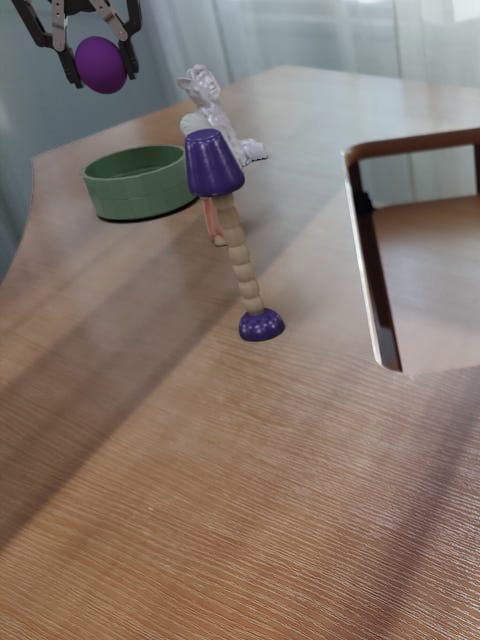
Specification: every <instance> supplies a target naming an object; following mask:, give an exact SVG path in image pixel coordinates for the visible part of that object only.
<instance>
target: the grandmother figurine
mask: <svg viewBox="0 0 480 640" xmlns="http://www.w3.org/2000/svg"><path fill="white" fill-rule="evenodd" d="M201 129H214V128H213V127H212V126H211V124H210V123H209V121H208V120H207V119H206V118H204V117H202V116H201V115H199V114H196V113H194V112H191V113H187V114H185V115H183V116H182V118H181V119H180V122H179V130H180V133H182V135H183V137H184V139H185V138H186V136H187V135H188V134H190V133H192V132H194V131H197V130H201ZM199 198H200V200H201V201H202V208H203V215H204V221H205V226H206V232H207V235H208V236H209V237H212V236H214V239H213V240H214V241H213V242H214V246H217V247H222V246H228V245H227V243H226V242H225V240H224V237H223V227H222V226H221V225H220V223H219V221H218V218H217V208H216V207H215V206H214V204H213V202H212V199H211V197H210V198H205V197H199Z"/></svg>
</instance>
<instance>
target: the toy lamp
mask: <svg viewBox="0 0 480 640" xmlns="http://www.w3.org/2000/svg"><path fill="white" fill-rule="evenodd" d="M184 148H185V157H186V169H187V180H188V187H189V190H190V192H191V193H192V194H193V195H194V196H196V197H198V198H200V197H205V198H210V197H211V199H212V202H213V204H214V206H215V207H216V208H217V218H218V221H219V223H220V225H221V226H222V227H223V237H224V240H225V242H226V243H227V245H226V246H227V253H228V257H229V259H230V261H231V263H233V265H232V269H233V274H234V276H235V278H236V280H238V289H239V292H240V294H241V296H242V297H243V306H244V308H245V310H246V311H245V313H244V314H243V315H242V316H241V317H240V320H239V323H238V334H239V337H240V338H241V339H243V340H246V341H249V342H251V341H252V342H260V341H266V340H269V339H272V338H274V337H277V336H278V335H280V334H282V332H283V331H284V329H285V325H286V324H285V322H284V320H283V319H282V316H281V315H280V314H279V313H278V312H277V311H276V310H274V309H272V308H270V307H265V301H264V298H263V297H262V295H261V294H260V285H259V282H258V280H257V278H256V270H255V267H254V264H253V263H252V261H251V253H250V248H249V246H248V244H247V243H246V242H245V237H246V236H245V232H244V229H243V227H242V226H241V224H240V214H239V212H238V210H237V208H236V206H234V204H235V203H234V201H235V200H234V192H237V191H239V190H240V189H242V188H243V186H244V185H245V184H246V177H245V174H244V172H243V169H242V170H241V168H240V166H239V164H238V162H237V160H236V158H235V157H234V155H233V153H232V151H231V149H230V147H229V146H228V144H227V142H226V140H225V138H224V136H223V135H222V133H221V132H220V131H219V130H217V129H201V130H197V131H194V132H192V133H190V134H188V135H187V136H186V138H185V137H184Z"/></svg>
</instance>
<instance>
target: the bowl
mask: <svg viewBox="0 0 480 640" xmlns="http://www.w3.org/2000/svg"><path fill="white" fill-rule="evenodd" d="M79 176H80V179H81V181H82V183H83V186H84V188H85V191H86V193H87V196H88V199H89V201H90V204H91V207H92V209H93V212H94V213H95V214H96V215H97V216H98V217H100V218H103V219H106V220H119V221H136V220H137V221H138V220H144V219H148V218H154V217H158V216H162V215H166V214H168V213H171V212H173V211H176V210H178V209H180V208H182V207H184V206H186V205H187V204H189V203H190V202H192V201H194V200H195V199H196V198H197V196H194V195H193V194H192V193H191V192H190V190H189V187H188V180H187V169H186V157H185V146H182V145H179V144H169V143H168V144H167V143H165V144H164V143H161V144H160V143H159V144H158V143H157V144H146V145H141V146H135V147H129V148H125V149H121V150H117V151H113V152H111V153H107V154H105V155H102V156H99V157H96V159H93V160H91V161H89V162H87V163H86V164H85V165H84V166H82V167H81V169H80V171H79Z"/></svg>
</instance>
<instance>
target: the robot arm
mask: <svg viewBox="0 0 480 640" xmlns="http://www.w3.org/2000/svg"><path fill="white" fill-rule="evenodd" d="M46 1H47V2H48V3H49V4H50V5H51V24H52V26H51V27H52V33H51V32H47V30H46V29H45V26H44V24H43V23H42V21H41V19H40V18H39V16H38V14H37V12H36V11H35V8H34V7H33V5H32V2H33V0H10V2H11V3H12V4H13V6H14V8H15V10H16V12H17V13H18V16H19V17H20V19H21V21H22V22H23V24H24V26H25V28H26V30H27V31H28V33H29V35H30V36H31V38H32V41H33V42H34V44H35V45H36V46H37V47H39V48H48V49H50V50H54V52H55V53H56V54H57V56H58V58H59V61H60V64H61V67H62V69H63V73H64V75H65V77H66V80H67V81H68V82H69V84H70V85H73V84H74V87H75V88H76V90H81V89H84V88H85V86H86V84H85V83H84V82H83V81H82V79H81V78H80V76H79V74H78V72H77V69H76V66H75V52H74V50H73V47H70V46H69V42H68V24H69V23H68V22H69V17H70V16H75V15H78V14H79V13H95V12H97V13H98V15H99V16H100V17H101V19H102V20H103V21H104V22H105V24H107V26H108V27H109V28H110V30H111V31H112V33H113V34H114V36H115V37H116V38H117V39H118V41H117V47H118V48H119V49H120V52H121V55H122V58H123V61H124V64H125V67H126V70H127V77H128V79H129V81H133V80H134V81H135V80H137V78H138V75H137V74H138V73H140V62H139V60H138V59H139V58H138V55H137V53H136V49H135V46H134V43H133V40H132V37H133V36H134V35H135V34H137V33H138V32H140V31H141V30H142V27H143V24H144V21H143V13H142V7H141V1H140V0H125V1H126V9H127V14H128V20H126V21H125V22H124V20H123V19H122V17H121V16H120V15H119V13H118V11H117V10H116V8H115V7H114V5H113V4H112V3H111V1H110V0H46Z"/></svg>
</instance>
